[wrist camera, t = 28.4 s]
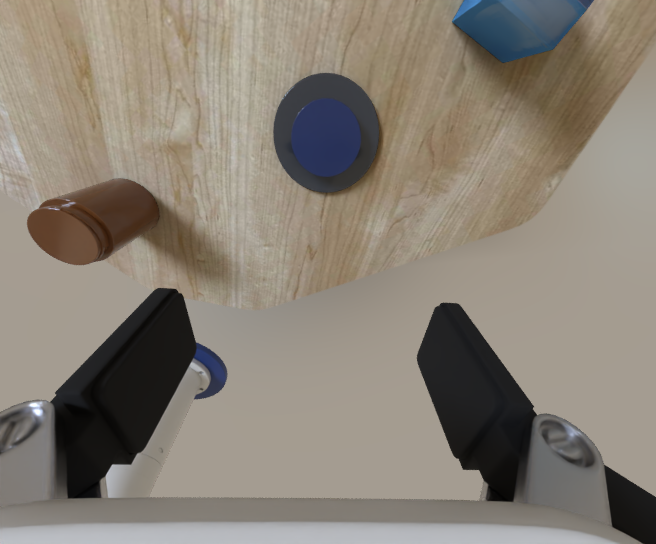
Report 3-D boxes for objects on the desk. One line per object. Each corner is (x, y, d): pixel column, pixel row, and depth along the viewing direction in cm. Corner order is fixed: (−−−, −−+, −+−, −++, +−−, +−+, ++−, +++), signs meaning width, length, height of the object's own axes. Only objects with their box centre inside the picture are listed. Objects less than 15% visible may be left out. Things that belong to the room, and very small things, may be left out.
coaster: (358, 201, 31) (359, 203, 30) (267, 177, 29) (266, 178, 29) (394, 94, 25) (396, 93, 24) (283, 56, 23) (282, 55, 23)
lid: (301, 87, 24) (299, 86, 23) (369, 112, 25) (372, 112, 24) (286, 163, 28) (284, 165, 26) (346, 182, 29) (348, 185, 27)
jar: (161, 235, 33) (109, 275, 25) (107, 223, 32) (35, 260, 24) (157, 186, 30) (94, 214, 22) (96, 171, 29) (9, 194, 21)
